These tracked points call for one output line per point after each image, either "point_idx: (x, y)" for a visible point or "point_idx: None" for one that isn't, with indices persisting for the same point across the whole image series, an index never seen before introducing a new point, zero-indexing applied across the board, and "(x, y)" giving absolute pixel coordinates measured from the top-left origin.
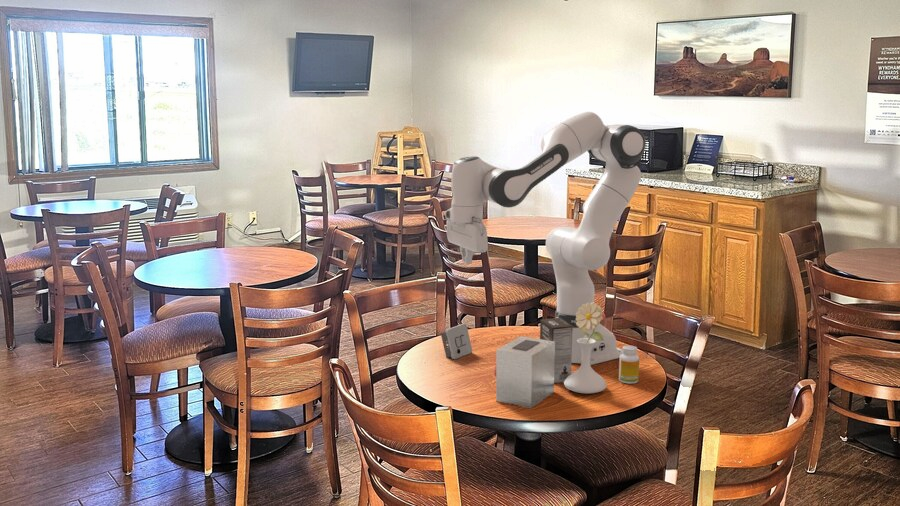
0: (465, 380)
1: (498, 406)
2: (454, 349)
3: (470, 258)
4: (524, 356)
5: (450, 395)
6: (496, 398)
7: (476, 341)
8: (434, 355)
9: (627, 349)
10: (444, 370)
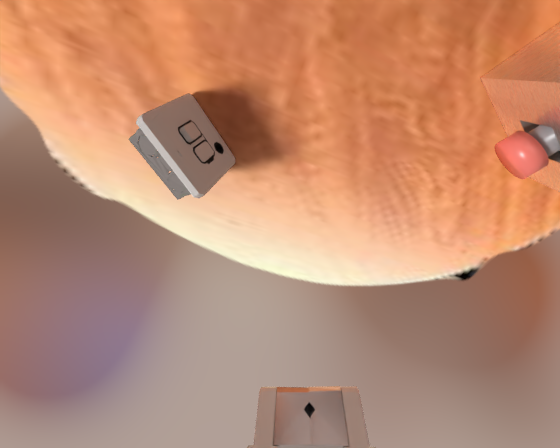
0: (377, 186)
1: None
2: (223, 163)
3: (366, 444)
4: None
5: (438, 241)
6: (531, 177)
7: (82, 34)
8: None
9: None
10: (297, 204)
